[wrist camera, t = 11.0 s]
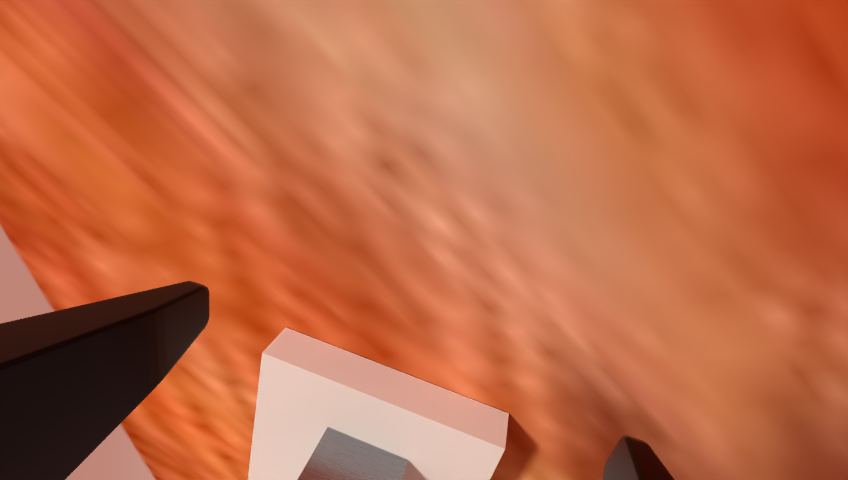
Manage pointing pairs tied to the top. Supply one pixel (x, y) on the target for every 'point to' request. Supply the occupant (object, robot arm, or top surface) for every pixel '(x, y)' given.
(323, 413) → the board
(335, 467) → the block
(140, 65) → the top surface
